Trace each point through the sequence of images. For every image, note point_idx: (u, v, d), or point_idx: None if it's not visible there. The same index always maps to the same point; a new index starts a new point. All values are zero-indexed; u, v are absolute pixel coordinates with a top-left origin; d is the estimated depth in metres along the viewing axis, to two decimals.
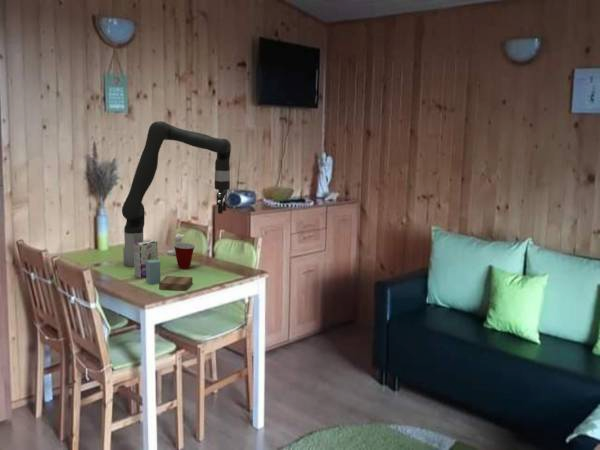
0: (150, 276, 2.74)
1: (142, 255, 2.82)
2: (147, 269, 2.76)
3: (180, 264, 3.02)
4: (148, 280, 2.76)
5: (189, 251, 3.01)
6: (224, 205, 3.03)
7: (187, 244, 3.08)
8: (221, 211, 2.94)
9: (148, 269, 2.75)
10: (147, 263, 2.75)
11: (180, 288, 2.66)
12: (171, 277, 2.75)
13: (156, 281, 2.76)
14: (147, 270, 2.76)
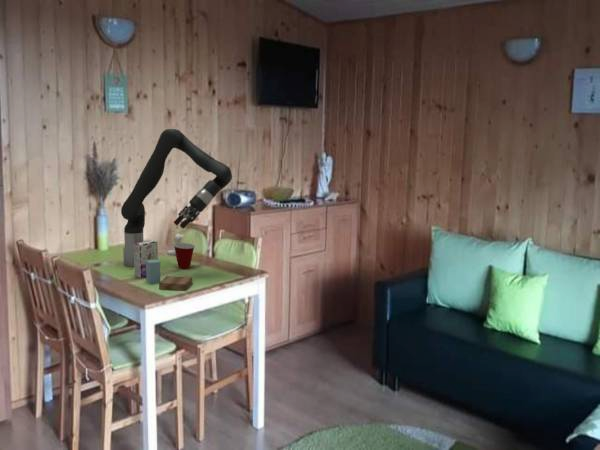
0: (150, 276, 2.74)
1: (142, 255, 2.82)
2: (147, 269, 2.76)
3: (180, 264, 3.02)
4: (148, 280, 2.76)
5: (189, 251, 3.01)
6: (180, 220, 2.84)
7: (187, 244, 3.08)
8: (184, 226, 2.76)
9: (148, 269, 2.75)
10: (147, 263, 2.75)
11: (180, 288, 2.66)
12: (171, 277, 2.75)
13: (156, 281, 2.76)
14: (147, 270, 2.76)
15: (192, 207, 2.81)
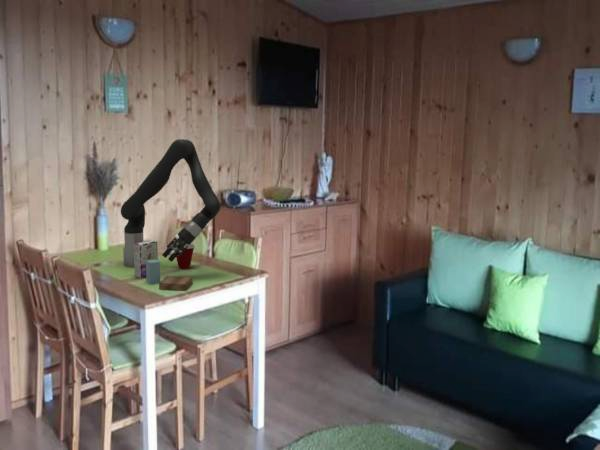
0: (150, 276, 2.74)
1: (142, 255, 2.82)
2: (147, 269, 2.76)
3: (180, 264, 3.02)
4: (148, 280, 2.76)
5: (189, 251, 3.01)
6: (168, 252, 2.83)
7: (187, 244, 3.08)
8: (172, 259, 2.76)
9: (148, 269, 2.75)
10: (147, 263, 2.75)
11: (180, 288, 2.66)
12: (171, 277, 2.75)
13: (156, 281, 2.76)
14: (147, 270, 2.76)
15: (180, 240, 2.81)
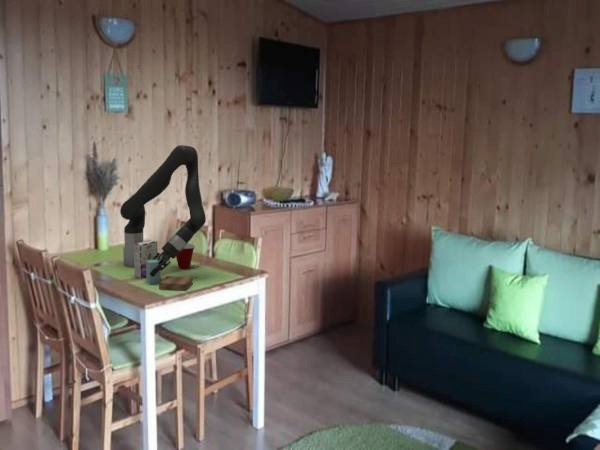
0: (150, 276, 2.74)
1: (142, 255, 2.82)
2: (147, 269, 2.76)
3: (180, 264, 3.02)
4: (148, 280, 2.76)
5: (189, 251, 3.01)
6: None
7: (187, 244, 3.08)
8: (154, 274, 2.74)
9: (148, 269, 2.75)
10: (147, 263, 2.75)
11: (180, 288, 2.66)
12: (171, 277, 2.75)
13: (156, 281, 2.76)
14: (147, 270, 2.76)
15: (165, 254, 2.78)
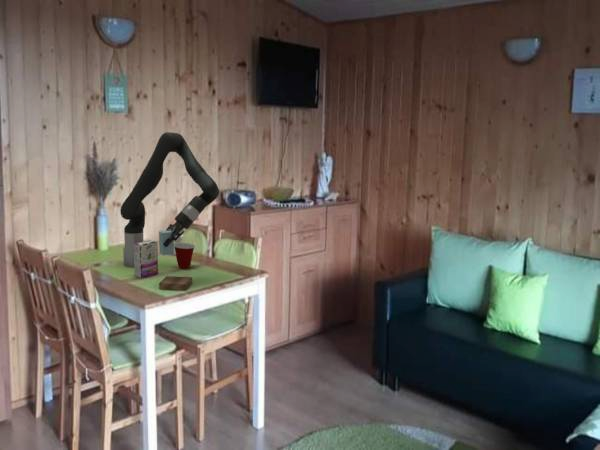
0: (163, 246, 2.68)
1: (142, 255, 2.82)
2: (160, 240, 2.70)
3: (180, 264, 3.02)
4: (161, 251, 2.70)
5: (189, 251, 3.01)
6: None
7: (187, 244, 3.08)
8: (167, 245, 2.68)
9: (161, 240, 2.69)
10: (160, 234, 2.69)
11: (180, 288, 2.66)
12: (171, 277, 2.75)
13: (170, 252, 2.70)
14: (160, 241, 2.70)
15: (178, 224, 2.72)
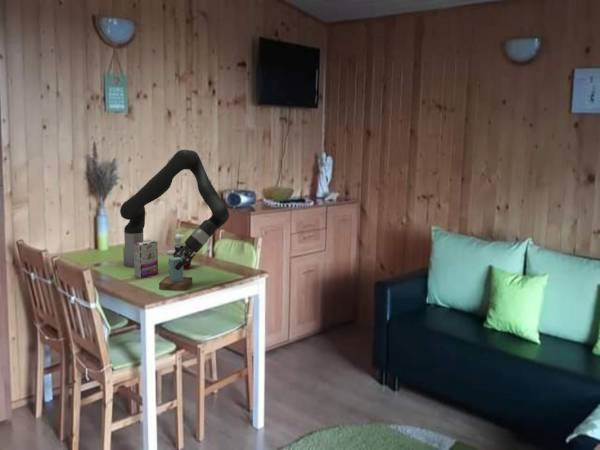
0: (173, 273, 2.68)
1: (142, 255, 2.82)
2: (170, 266, 2.70)
3: None
4: (171, 278, 2.69)
5: None
6: None
7: None
8: (179, 268, 2.66)
9: (171, 266, 2.68)
10: (170, 260, 2.69)
11: (180, 288, 2.66)
12: None
13: (179, 278, 2.70)
14: (170, 268, 2.70)
15: (187, 248, 2.71)
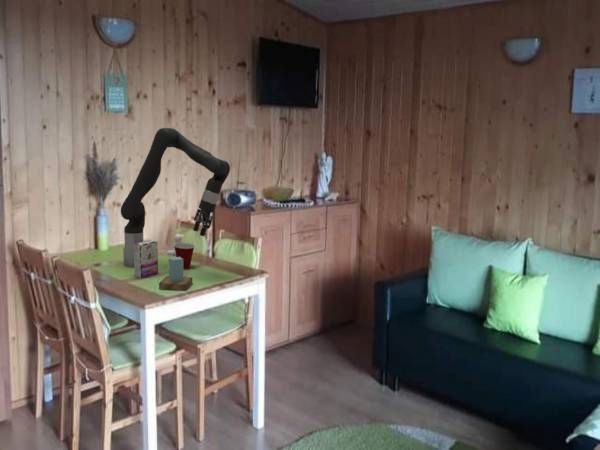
0: (173, 273, 2.68)
1: (142, 255, 2.82)
2: (170, 266, 2.70)
3: None
4: (171, 278, 2.69)
5: (189, 251, 3.01)
6: (198, 225, 2.86)
7: (187, 244, 3.08)
8: None
9: (171, 266, 2.68)
10: (170, 260, 2.69)
11: (180, 288, 2.66)
12: None
13: (179, 278, 2.70)
14: (170, 268, 2.70)
15: (203, 211, 2.81)
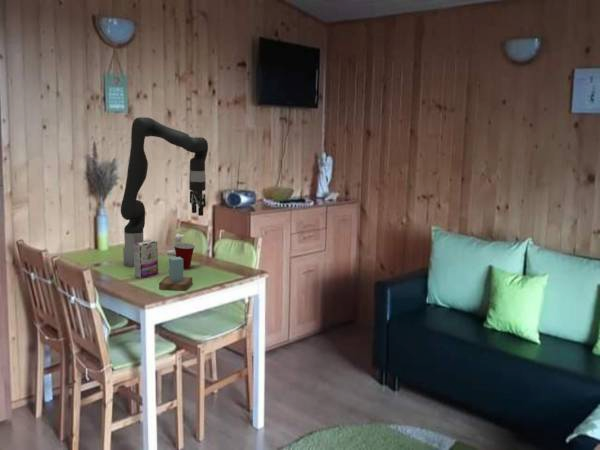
0: (173, 273, 2.68)
1: (142, 255, 2.82)
2: (170, 266, 2.70)
3: None
4: (171, 278, 2.69)
5: (189, 251, 3.01)
6: (195, 207, 2.89)
7: (187, 244, 3.08)
8: (202, 213, 2.82)
9: (171, 266, 2.68)
10: (170, 260, 2.69)
11: (180, 288, 2.66)
12: None
13: (179, 278, 2.70)
14: (170, 268, 2.70)
15: (195, 192, 2.83)
